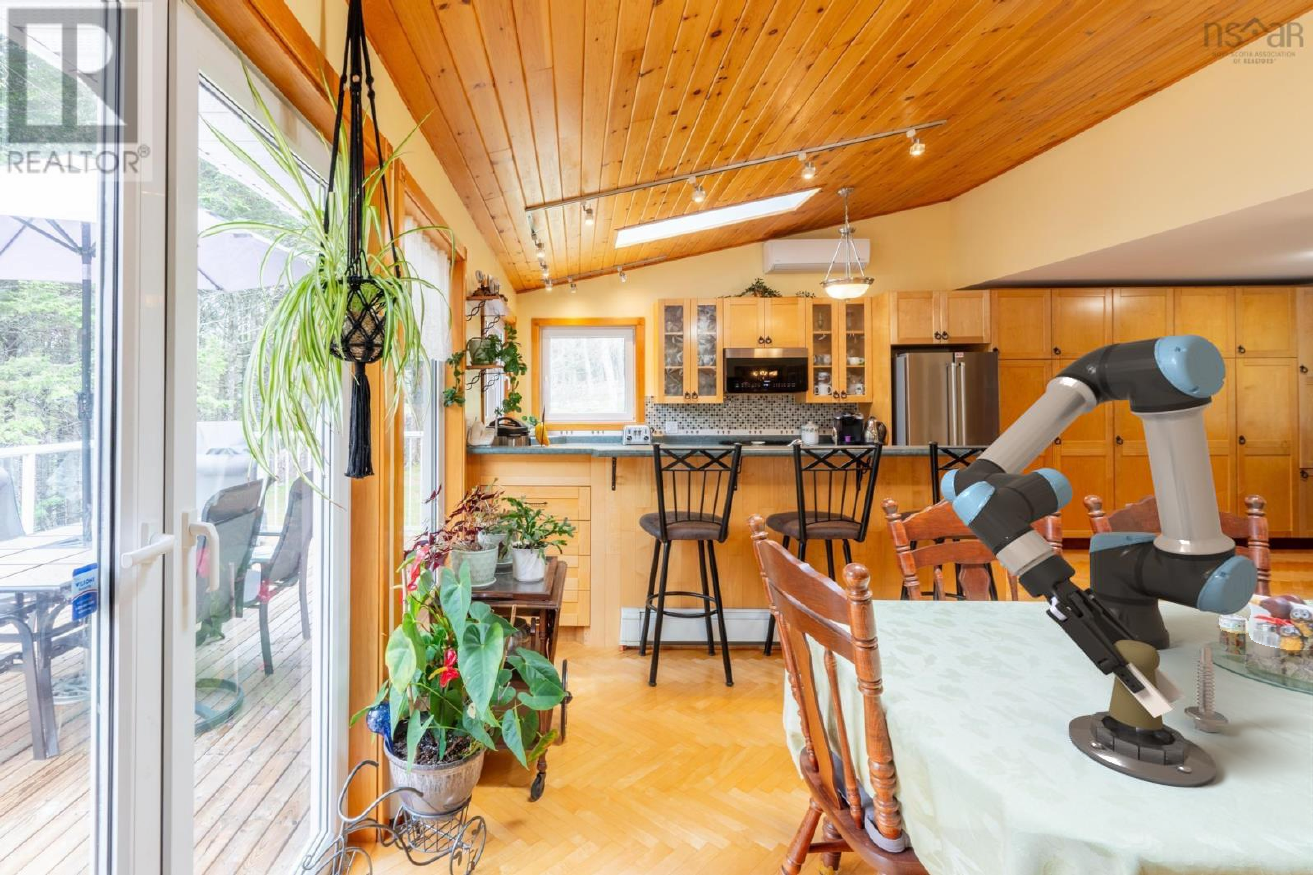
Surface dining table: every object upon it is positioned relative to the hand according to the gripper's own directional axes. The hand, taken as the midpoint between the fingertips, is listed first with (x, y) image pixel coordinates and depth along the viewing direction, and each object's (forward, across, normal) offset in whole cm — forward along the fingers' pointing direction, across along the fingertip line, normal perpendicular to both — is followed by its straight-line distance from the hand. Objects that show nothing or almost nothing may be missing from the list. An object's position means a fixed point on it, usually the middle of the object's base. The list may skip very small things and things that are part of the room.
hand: (1169, 706), depth 78 cm
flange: (+3, 0, -8) cm, 9 cm away
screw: (+7, -16, -5) cm, 18 cm away
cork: (0, 0, -5) cm, 5 cm away
